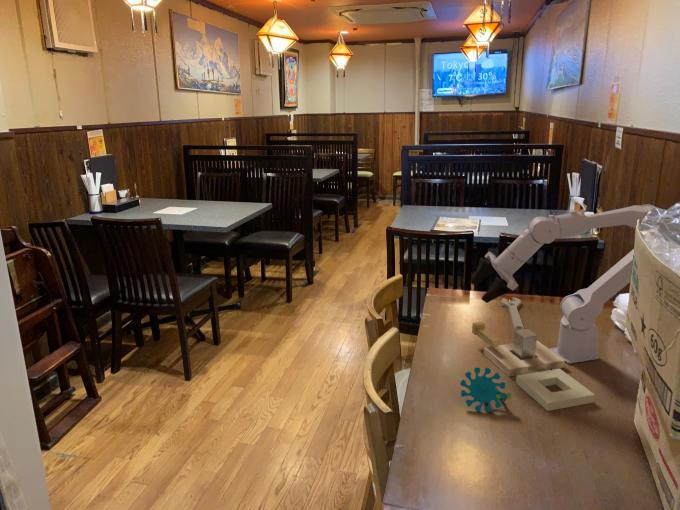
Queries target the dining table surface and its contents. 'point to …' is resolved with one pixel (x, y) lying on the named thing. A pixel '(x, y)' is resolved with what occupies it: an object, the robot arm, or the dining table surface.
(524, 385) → the cream square hole plate
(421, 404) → the dining table surface
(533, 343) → the peg
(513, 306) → the adjustable wrench
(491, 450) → the dining table surface
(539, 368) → the socket block
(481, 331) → the tan headed bar
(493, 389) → the teal virus model
